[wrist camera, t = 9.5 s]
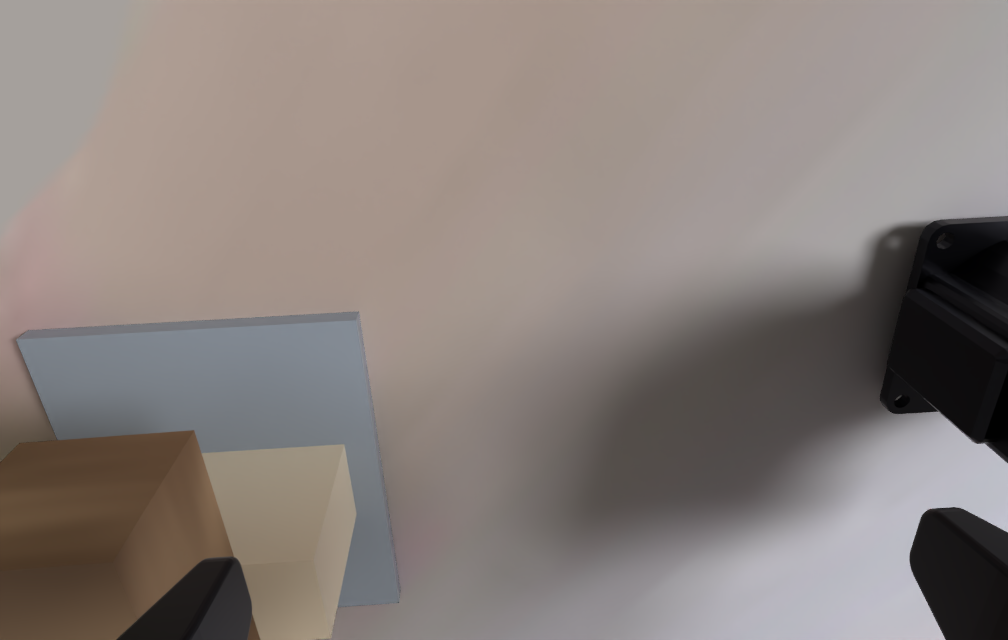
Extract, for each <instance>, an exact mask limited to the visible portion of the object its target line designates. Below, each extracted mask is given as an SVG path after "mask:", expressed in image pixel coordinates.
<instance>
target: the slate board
mask: <svg viewBox="0 0 1008 640" xmlns="http://www.w3.org/2000/svg"><path fill="white" fill-rule="evenodd" d="M16 341H17V343H18V346H19V348H20V351H21V353H22V355H23V358H24V360H25V363H26V365H27V368H28V370H29V372H30V375H31V377H32V380H33V382H34V385H35V387H36V389H37V392H38V394H39V397H40V399H41V402H42V404H43V407H44V409H45V411H46V414H47V416H48V419H49V421H50V424H51V426H52V428H53V431H54V433H55V436H56V438H57V440H68V439H81V438H95V437H108V436H122V435H135V434H149V433H162V432H176V431H189V430H194V431H195V434H196V437H197V441H198V444H199V447H200V450H201V453H202V456H203V460H204V463H205V466H206V469H207V472H208V475H209V479H210V482H211V485H212V488H213V491H214V494H215V498H216V501H217V504H218V507H219V510H220V513H221V517H222V520H223V523H224V526H225V529H226V532H227V536H228V539H229V542H230V545H231V548H232V551H233V555H234V557H236V558H237V559H238V560H239V562H240V564H241V567H242V570H243V573H244V577H245V580H246V584H247V587H248V591H249V594H250V598H251V602H252V615H253V618H254V621H255V624H256V627H257V631H258V634H259V637H260V640H315V639H329V638H331V635H332V631H333V626H334V621H335V616H336V611H337V607H347V606H361V605H376V604H390V603H399V599H400V583H399V577H398V570H397V563H396V557H395V550H394V543H393V536H392V530H391V523H390V516H389V510H388V503H387V496H386V489H385V483H384V476H383V469H382V463H381V456H380V449H379V442H378V436H377V429H376V422H375V416H374V409H373V402H372V396H371V389H370V382H369V375H368V369H367V362H366V355H365V349H364V342H363V335H362V328H361V322H360V315H359V312H343V313H325V314H307V315H290V316H272V317H255V318H237V319H219V320H202V321H184V322H166V323H149V324H131V325H114V326H96V327H78V328H61V329H43V330H28V331H27V332H25V333H24V334H23V335H21V336H20V337H19V338H18V339H16Z"/></svg>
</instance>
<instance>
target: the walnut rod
mask: <svg viewBox="0 0 1008 640" xmlns="http://www.w3.org/2000/svg"><path fill="white" fill-rule="evenodd" d="M228 556H232V557H234V555H233V551H232V548H231V545H230V542H229V539H228V536H227V532H226V529H225V526H224V523H223V520H222V517H221V513H220V510H219V507H218V504H217V501H216V498H215V494H214V491H213V488H212V485H211V482H210V479H209V475H208V472H207V469H206V466H205V463H204V460H203V456H202V453H201V450H200V447H199V444H198V441H197V437H196V434H195V431H194V430H189V431H176V432H162V433H149V434H135V435H122V436H108V437H95V438H81V439H68V440H54V441H41V442H27V443H19V444H18V445H17V446H16V447H15V448H14V449H13V450H12V451H11V452H10V453H9V454H8V455H7V456H6V457H5V458H4V459H3V460H2V461H1V462H0V640H116V639H117V638H118V637H119V636H120V635H121V634H122V633H123V632H125V631H126V630H127V629H128V628H129V627H130V626H131V625H132V624H133V623H134V622H135V621H136V620H137V619H139V618H140V617H141V616H142V615H143V614H144V613H145V612H146V611H147V610H148V609H149V608H150V607H151V606H153V605H154V604H155V603H156V602H157V601H158V600H159V599H160V598H161V597H162V596H163V595H164V594H165V593H166V592H168V591H169V590H170V589H171V588H172V587H173V586H174V585H175V584H176V583H177V582H178V581H179V580H180V579H182V578H183V577H184V576H185V575H186V574H187V573H188V572H189V571H190V570H191V569H192V568H193V567H194V566H196V565H197V564H198V563H199V562H200V561H202V560H204V559H206V558H214V557H228ZM248 640H260V637H259V634H258V631H257V627H256V624H255V621H254V618H253V615H252V619H251V624H250V630H249V635H248Z"/></svg>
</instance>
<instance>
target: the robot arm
mask: <svg viewBox="0 0 1008 640" xmlns="http://www.w3.org/2000/svg"><path fill="white" fill-rule="evenodd" d="M943 233H945V237H944V239H943V240H942V241H941V242H940V243H938V244H937V240H938V238H939V236H941V235H942V234H943ZM887 365H888V366H887V370H886V374H885V378H884V382H883V386H882V390H881V394H880V401H881V403H882V405H883V406H884V407H885V408H887V409H888V410H889V411H890V412H892V413H894V414H906V413H922V412H938V411H939V412H940V413H941V414H942V415H943V416H944V417H945V418H947V419H948V420H949V421H950V422H951V423H952V424H953V425H954V426H956V427H957V428H958V429H959V430H960V431H961V432H962V433H964V434H965V435H966V436H967V437H968V438H969V439H970V440H971V441H973V442H974V443H976V444H983V443H985V444H986V445H987V446H988V447H989V448H991V449H992V450H993V451H994V452H995V453H996V454H997V455H999V456H1000V457H1001V458H1002V459H1003V460H1004V461H1006V462H1007V463H1008V216H1004V217H985V218H967V219H948V220H938V221H934V222H933V223H931V224H929V225H928V226H927V227H926V228H925V229H924V230H923V232H922V234H921V236H920V239H919V243H918V247H917V251H916V255H915V259H914V263H913V267H912V271H911V275H910V279H909V283H908V287H907V291H906V294H905V296H904V298H903V302H902V306H901V310H900V313H899V317H898V321H897V325H896V329H895V333H894V337H893V341H892V345H891V349H890V353H889V357H888V361H887ZM900 395H902V396H901V397H900V398H899V399H898V400H895V399H896V398H897V397H898V396H900ZM910 566H911V570H912V572H913V575H914V577H915V579H916V581H917V583H918V585H919V587H920V589H921V591H922V593H923V595H924V597H925V599H926V601H927V603H928V605H929V607H930V609H931V611H932V613H933V615H934V617H935V619H936V621H937V623H938V625H939V627H940V629H941V631H942V633H943V635H944V637H945V639H946V640H1008V532H1006V531H1004V530H1002V529H1000V528H998V527H996V526H994V525H992V524H990V523H989V522H987V521H985V520H983V519H981V518H979V517H977V516H975V515H973V514H971V513H970V512H968V511H966V510H964V509H961V508H955V507H951V508H936V509H929V510H927V511H926V512H925V513H924V514H923V515H922V517H921V519H920V523H919V526H918V529H917V532H916V535H915V538H914V542H913V545H912V548H911V551H910ZM251 619H252V602H251V598H250V594H249V591H248V587H247V584H246V580H245V577H244V573H243V570H242V567H241V564H240V562H239V560H238V559H237V558H236V557H232V556H228V557H214V558H206V559H204V560H202V561H200V562H199V563H198V564H197V565H196V566H194V567H193V568H192V569H191V570H190V571H189V572H188V573H187V574H186V575H185V576H184V577H183V578H182V579H180V580H179V581H178V582H177V583H176V584H175V585H174V586H173V587H172V588H171V589H170V590H169V591H168V592H166V593H165V594H164V595H163V596H162V597H161V598H160V599H159V600H158V601H157V602H156V603H155V604H154V605H153V606H151V607H150V608H149V609H148V610H147V611H146V612H145V613H144V614H143V615H142V616H141V617H140V618H139V619H137V620H136V621H135V622H134V623H133V624H132V625H131V626H130V627H129V628H128V629H127V630H126V631H125V632H123V633H122V634H121V635H120V636H119V637H118V638H117V639H116V640H248V635H249V630H250V624H251Z"/></svg>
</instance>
